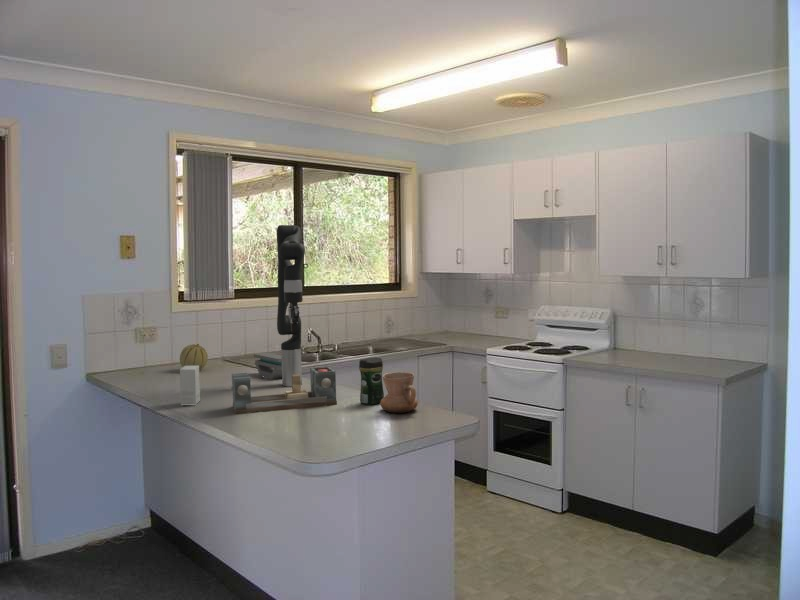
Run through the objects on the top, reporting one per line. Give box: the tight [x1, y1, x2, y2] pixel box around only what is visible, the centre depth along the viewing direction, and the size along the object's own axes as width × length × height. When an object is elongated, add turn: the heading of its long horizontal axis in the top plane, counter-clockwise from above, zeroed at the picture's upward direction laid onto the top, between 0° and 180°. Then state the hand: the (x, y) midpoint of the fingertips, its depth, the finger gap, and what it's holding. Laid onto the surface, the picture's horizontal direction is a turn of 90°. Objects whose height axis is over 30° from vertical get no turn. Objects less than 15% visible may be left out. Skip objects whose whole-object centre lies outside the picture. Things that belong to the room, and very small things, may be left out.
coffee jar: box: [358, 357, 385, 405], centre depth 260 cm, size 10×8×19 cm
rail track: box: [231, 366, 338, 414], centre depth 259 cm, size 14×40×14 cm, turn 109°
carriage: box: [284, 374, 308, 400], centre depth 260 cm, size 8×8×10 cm
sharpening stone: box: [253, 351, 282, 380], centre depth 325 cm, size 25×8×11 cm, turn 41°
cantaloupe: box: [179, 343, 209, 371], centre depth 346 cm, size 15×15×15 cm
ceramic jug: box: [379, 371, 419, 414], centre depth 245 cm, size 18×14×14 cm
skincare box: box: [179, 365, 201, 405], centre depth 265 cm, size 8×7×16 cm
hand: (294, 332), depth 267 cm, fingers closed
